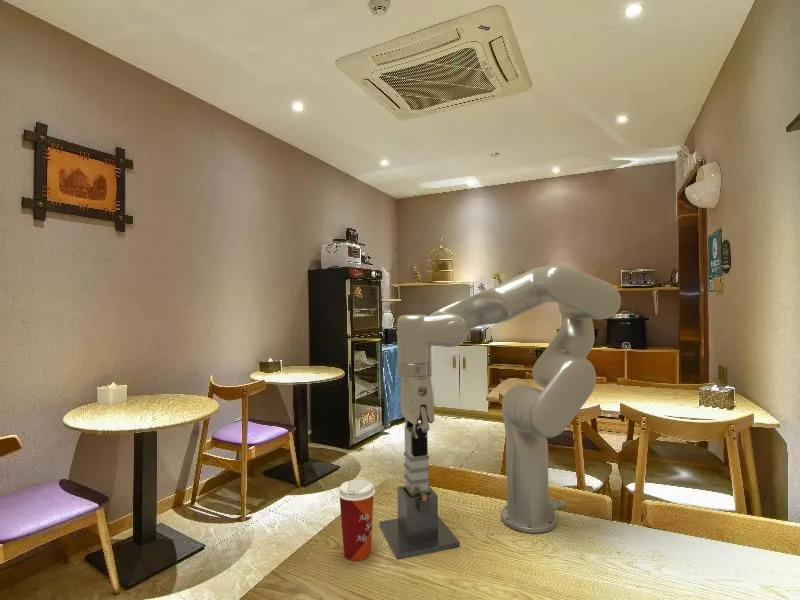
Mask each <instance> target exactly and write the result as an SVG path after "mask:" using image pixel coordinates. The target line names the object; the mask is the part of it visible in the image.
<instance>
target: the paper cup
mask: <svg viewBox="0 0 800 600" xmlns="http://www.w3.org/2000/svg"><path fill="white" fill-rule="evenodd" d="M375 493H376V489H375V487H374V485H373V484H372V482H370V481H368V480H366V479H351V480H347V481H344V482H343V483H342V484H340V487H339V490H338V492H337V496H338V497H339V505H340V507H339V508H340V520H341V530H342V544H343V545H342V547H343V553H344V557H345V558H346V559H347V560H348V561H353V562H356V561H357V562H359V561H364V560H366V559H368V558H369V557H370V555H371V554H372V553H371V552H372V541H373V539H372V538H373V520H374V519H373V514H374V513H373V512H374V511H373V510H374V495H375Z"/></svg>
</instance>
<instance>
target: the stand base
mask: <svg viewBox="0 0 800 600" xmlns="http://www.w3.org/2000/svg"><path fill="white" fill-rule="evenodd" d="M428 487H429V490H430V494H429V495H426V494H425V493H424V494H421V496H416V497H409V496H408V494H407V493H406V490H405V486H404V485H403V486H397V487H396V488H397V489H396V490H397V492H396V493H397V518H393V519H388V520H382V521H381V520H380V521H379V523H378V524H379V528H380V530H381V532H382V533H383V536H384V538H385V539H386V542H387V543H388V545H389V548H390V549H391V551H392V553H393V556H394V557H395V559H396V560H402V559H407V558H412V557H416V556H422V555H426V554H432V553H437V552H442V551H447V550H450V549H455V548H457V549H458V548H460V547H461V542H460V541H459V539H458V538H457V536H455V534H454V533H453V532H452V531H451V529H449V527H448V526H447V525H446V523H445V522H444V521H443V520H442V519H441V517H440V516H439V510H438V509H439V508H438V507H439V504H438V502H439V500H438V499H439V497H438V494H437V493H436V492H435V491H434V490H433V489H432V487H431V486H430V485H429V484H428Z"/></svg>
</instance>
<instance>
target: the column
mask: <svg viewBox="0 0 800 600" xmlns="http://www.w3.org/2000/svg"><path fill="white" fill-rule="evenodd" d="M419 428H421V426H417V431H418V429H419ZM428 431H429V430H428ZM428 431H427V455H425V456H418V457H414V456H413V445H412V438H414V431H413V426H412V427H405V426H404V452H403V455H404V463H403V467H404V468H405V469H404V470H405V473H404V476H403V478H404V479H405V485H403V486H405V490H406V493H407V494H408V496H409V497H416V496H421V494H424V493H425V494H426V495H429V494H430V490H429V487H428V485H429V483H430V478H429V472H430V467H429V460H430V456H429V448H428V447H429V444H428V442H429V439H428V434H429V433H428Z"/></svg>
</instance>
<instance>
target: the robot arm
mask: <svg viewBox="0 0 800 600" xmlns="http://www.w3.org/2000/svg"><path fill="white" fill-rule="evenodd" d="M546 303H557V304H558V305H557V306H558V310H559V314H560V320H561V321H560V323H561V324H560V326H559V330H558V331H557V333H556V335H555V337H554V338H553V339H552V341H551V342H550V343H549V345H548V346H547V347H546V348H545V349H544V351H543V352H542V354H541V355H540V356H539V357H538V359H537V360H536V361H535V363H534V364H533V367H532V371H531V372H532V379H533V380H534V382H535V383H536V384H538V386H540V387H542V388H543V389H539V388H536V387H533V386H530V385H526V384H516V385H514V386H512V387H510V388H509V389H508V390H506V392H505V393H504V395H503V398H502V401H501V402H502V403H501V410H502V411H501V414H502V418H503V419H502V420H503V425H504V432H505V450H506V451H505V455H506V458H505V459H506V460H505V461H506V505H505V506H503V507H502V509H501V510H500V519H501V521H502V522H503V523H504V524H505V525H506V526H507V527H510V529H513V530H516V531H518V532H521V533H522V532H523V533H530V534H540V533H542V534H543V533H546V532H549V531H551V530H553V529H554V528H555V527H556V525H557V517H556V515H555V514H554V512H556V511H557V510H563V509H566V508H567V502H566V501H565V499H558V500H556V499H555V497H553V496H551V497H549V496H550V495H549V494H550V493H549V489H550V487H549V446H548V445H549V443H548V440H547V439H552V438H555V437H557V436H559V435H561V434H562V432H564V431H565V430H566V429H567V428H568V427H569V425H570V424H571V423H572V421H573V419H574V418H575V417H576V416H577V414H578V413H579V411H580V410H581V409H582V407H583V406H584V405H585V403H586V402H587V400H588V399H589V398H590V397H591V395H592V393H593V392H594V389H595V386H596V382H597V373H596V370H595V369H596V368H595V367H594V365H593V363H592V362H591V361H590V360H589V359H587V356H589V354H590V352H591V351H592V349H593V346H594V344H595V335H596V334H595V329H594V322H593V320H607V319H609V318H611V317H613V316H615V315H616V314H617V313H618V311H619V310H620V307H621V304H622V298H621V295H620V293H619V291H618V289H617V288H616V287H615V286H614V285H613V284H612V283H610V282H608V281H605V280H604V279H601V278H598V277H596V276H593V275H590V274H588V273H586V272H583V271H581V270H578V269H576V268H573V267H571V266H567V265H563V264H553V265H552V264H551V265H545V266H539V267H535V268H531V269H530V270H527V271H526V272H523V273H521V274H519V275H517V276H514V277H512V278H509V279H508V280H506V281H504V282H501V283H499V284H498V285H495V286H493V287H490V288H488V289H485V290H483V291H481V292H478V293H476V294H473V295H471V296H468V297H466V298H463V299H460V300H458V301H456V302H453V303H451V304H449V305H446V306H445V307H442V308H439V309H438V310H436V311H433V312H432V313H430V314H429V315H426V314H414V313H413V314H403V315H400V316H398V318H397V320H396V321H397V322H396V329H397V330H396V335H397V336H396V340H397V344H396V345H397V377H398V378H399V379H400V391H399V392H400V398H399V401H400V402H399V403H400V413H401V416H402V417H403V418H404V421H405V422H404V423H405V424H404V425H405V426H404V428H405V427H412V426H413V431H414V438H412V445H413V456H414V457H418V456H425V455H427V431H429V430H430V424H433V423H434V422H435V408H434V405H435V403H434V394H433V386H432V379H431V378H432V376H433V375H432V373H433V372H432V371H433V369H432V347H433V346H435V347H445V348H446V347H447V348H453V347H457V346H460V345H462V344H463V343H464V342H465V341H466V340H467V337H468V335H469V330H470V329H473V328H476V327H480V326H486V325H494V324H499V323H504V322H506V321H509V320H512V319H514V318H516V317H518V316H520V315H522V314H524V313H526V312H528V311H530V310H533V309H535V308H537V307H539V306H541V305H543V304H546ZM419 421H420V422H419ZM417 426H421V428H419V429H418V431H417Z"/></svg>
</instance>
